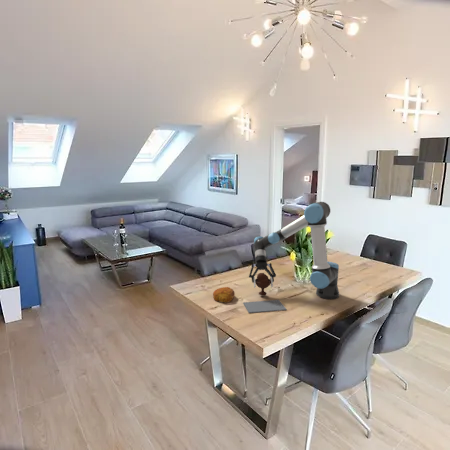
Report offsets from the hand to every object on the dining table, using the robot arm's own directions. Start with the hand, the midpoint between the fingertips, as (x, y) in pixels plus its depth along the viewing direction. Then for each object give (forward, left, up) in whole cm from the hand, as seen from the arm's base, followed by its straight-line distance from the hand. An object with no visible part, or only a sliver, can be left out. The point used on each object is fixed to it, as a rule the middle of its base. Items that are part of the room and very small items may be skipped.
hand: (263, 286), depth 223 cm
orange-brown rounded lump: (+25, +7, -8) cm, 28 cm away
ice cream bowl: (+1, -3, -6) cm, 7 cm away
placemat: (-2, +13, -8) cm, 16 cm away
